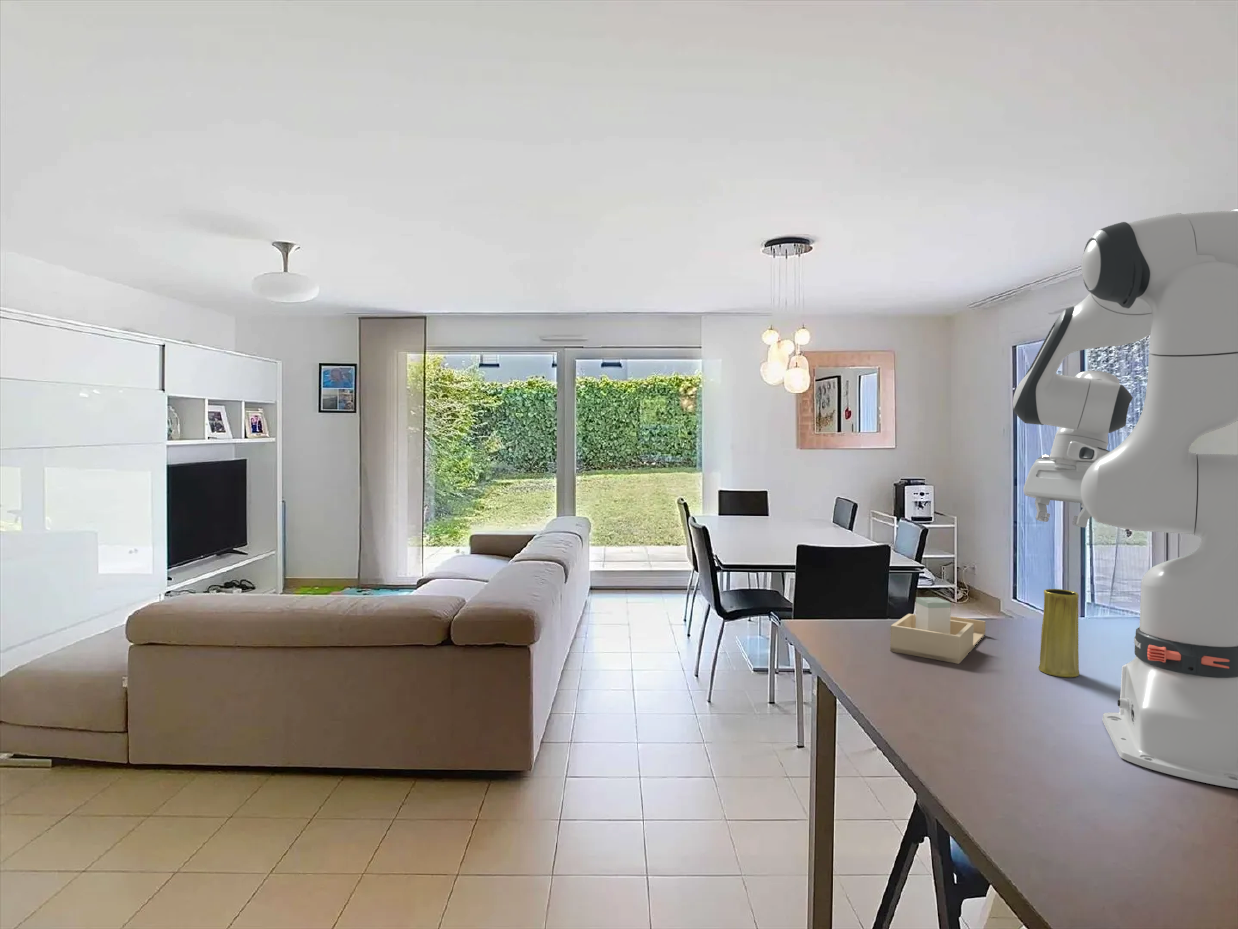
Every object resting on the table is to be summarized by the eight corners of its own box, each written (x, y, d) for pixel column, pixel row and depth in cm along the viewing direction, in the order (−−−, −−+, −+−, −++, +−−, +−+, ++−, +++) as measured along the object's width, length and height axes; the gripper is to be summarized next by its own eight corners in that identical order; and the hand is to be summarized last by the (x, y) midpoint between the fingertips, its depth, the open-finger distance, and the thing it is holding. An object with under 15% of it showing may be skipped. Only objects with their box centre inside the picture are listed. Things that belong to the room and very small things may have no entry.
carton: (949, 649, 135) (951, 602, 135) (927, 649, 135) (928, 602, 134) (936, 642, 140) (938, 597, 139) (915, 642, 139) (916, 597, 139)
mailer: (959, 663, 129) (959, 636, 129) (890, 651, 136) (890, 625, 136) (985, 635, 148) (985, 611, 148) (923, 625, 156) (924, 603, 155)
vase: (1067, 667, 127) (1070, 588, 127) (1086, 678, 121) (1089, 596, 121) (1032, 666, 128) (1034, 587, 127) (1049, 677, 122) (1051, 595, 121)
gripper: (1024, 450, 148) (1008, 514, 148) (1106, 451, 127) (1087, 525, 127) (1050, 458, 149) (1034, 521, 149) (1135, 460, 128) (1117, 534, 128)
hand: (1059, 523), depth 138 cm, fingers open, 8 cm apart
